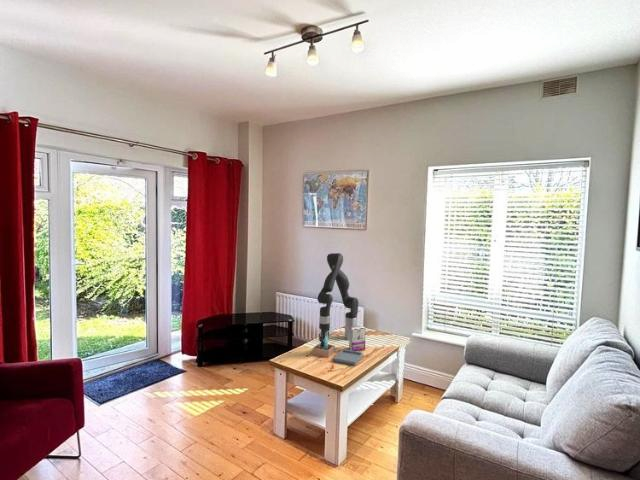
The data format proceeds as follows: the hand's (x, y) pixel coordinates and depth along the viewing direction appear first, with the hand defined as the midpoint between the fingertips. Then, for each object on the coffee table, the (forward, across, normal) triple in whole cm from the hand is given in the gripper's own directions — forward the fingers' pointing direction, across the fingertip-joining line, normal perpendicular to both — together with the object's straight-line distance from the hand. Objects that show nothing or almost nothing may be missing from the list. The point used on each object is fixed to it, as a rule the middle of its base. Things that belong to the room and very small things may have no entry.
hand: (324, 345), depth 241 cm
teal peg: (+5, 0, 0) cm, 5 cm away
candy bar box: (+6, -17, +19) cm, 26 cm away
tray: (+5, +2, +19) cm, 20 cm away
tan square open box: (+5, 0, 0) cm, 5 cm away
